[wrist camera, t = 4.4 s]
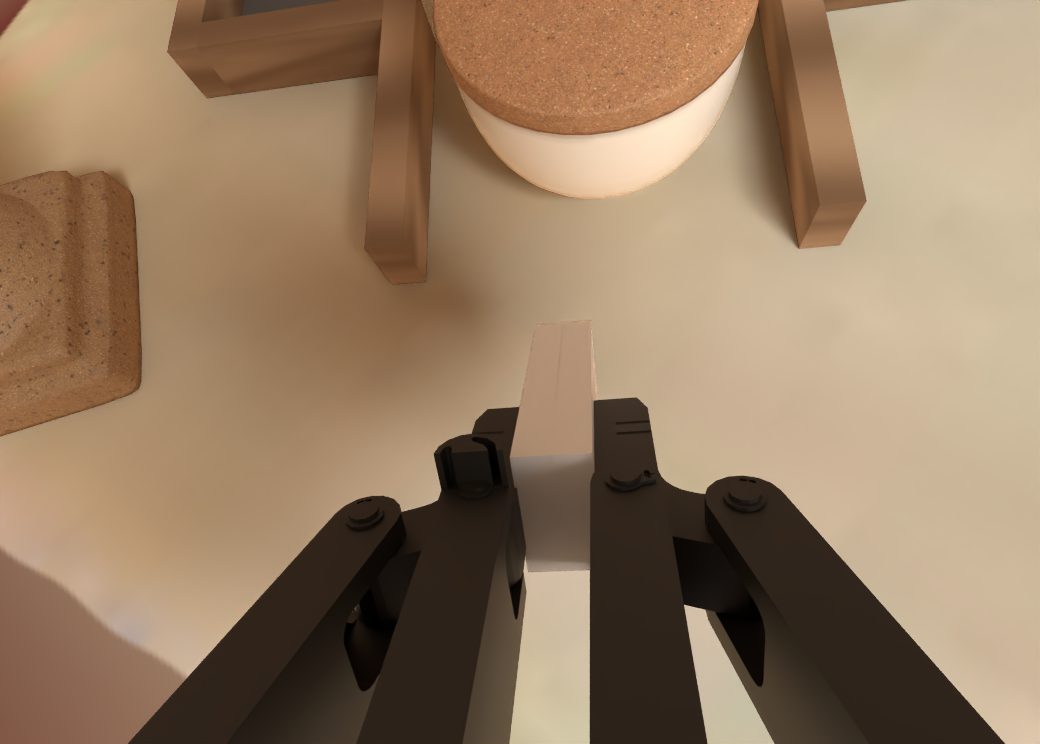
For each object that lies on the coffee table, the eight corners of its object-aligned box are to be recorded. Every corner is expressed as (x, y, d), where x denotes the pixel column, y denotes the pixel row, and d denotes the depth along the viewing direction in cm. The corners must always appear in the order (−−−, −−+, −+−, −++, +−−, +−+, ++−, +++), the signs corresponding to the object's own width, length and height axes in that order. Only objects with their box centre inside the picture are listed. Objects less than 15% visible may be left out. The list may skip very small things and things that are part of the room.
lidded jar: (433, 169, 29) (348, -14, 20) (577, 7, 31) (555, -226, 22) (629, 291, 26) (628, 134, 17) (779, 101, 27) (848, -131, 19)
